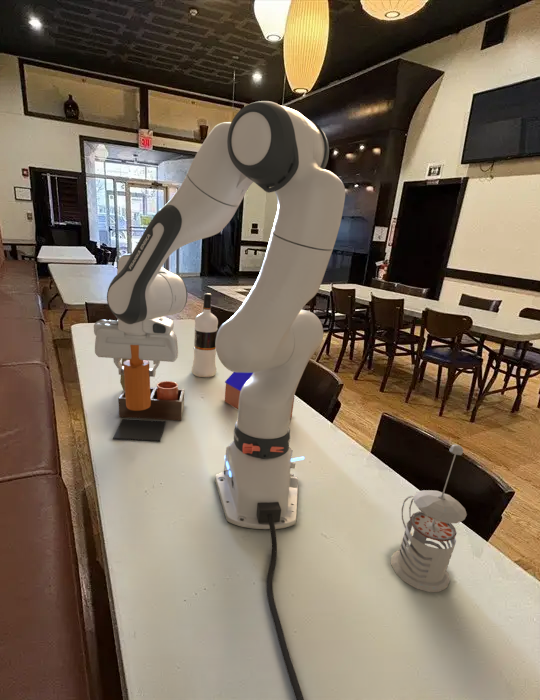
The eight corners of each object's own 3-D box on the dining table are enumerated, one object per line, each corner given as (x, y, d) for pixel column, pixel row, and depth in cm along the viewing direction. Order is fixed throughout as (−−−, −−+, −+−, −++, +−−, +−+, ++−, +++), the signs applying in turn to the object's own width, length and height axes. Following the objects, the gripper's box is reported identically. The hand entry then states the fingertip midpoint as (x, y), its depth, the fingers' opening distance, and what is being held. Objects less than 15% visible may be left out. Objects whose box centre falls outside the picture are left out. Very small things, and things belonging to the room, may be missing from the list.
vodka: (210, 379, 150) (214, 297, 139) (187, 375, 153) (189, 293, 142) (219, 372, 158) (224, 293, 147) (198, 367, 161) (201, 290, 150)
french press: (414, 597, 67) (455, 465, 58) (374, 545, 77) (403, 427, 68) (463, 586, 70) (509, 459, 61) (417, 538, 80) (451, 423, 71)
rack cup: (176, 418, 120) (177, 389, 117) (155, 416, 120) (155, 388, 116) (178, 409, 125) (179, 381, 122) (158, 408, 125) (158, 380, 122)
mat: (159, 441, 107) (159, 440, 107) (112, 439, 106) (112, 437, 106) (165, 422, 117) (165, 420, 117) (122, 419, 116) (122, 418, 116)
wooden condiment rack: (181, 420, 118) (181, 401, 116) (119, 417, 117) (118, 398, 115) (184, 407, 127) (184, 389, 125) (126, 404, 126) (125, 385, 124)
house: (263, 426, 119) (267, 389, 115) (223, 401, 133) (225, 367, 129) (293, 417, 126) (298, 382, 122) (251, 394, 141) (254, 361, 136)
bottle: (148, 411, 106) (146, 347, 99) (123, 410, 105) (119, 346, 99) (152, 400, 111) (150, 340, 105) (129, 400, 111) (125, 339, 105)
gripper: (89, 322, 97) (92, 376, 102) (177, 328, 98) (175, 381, 103) (97, 316, 103) (99, 368, 108) (179, 321, 104) (178, 373, 109)
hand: (137, 375), depth 106 cm, fingers closed on bottle, 6 cm apart
